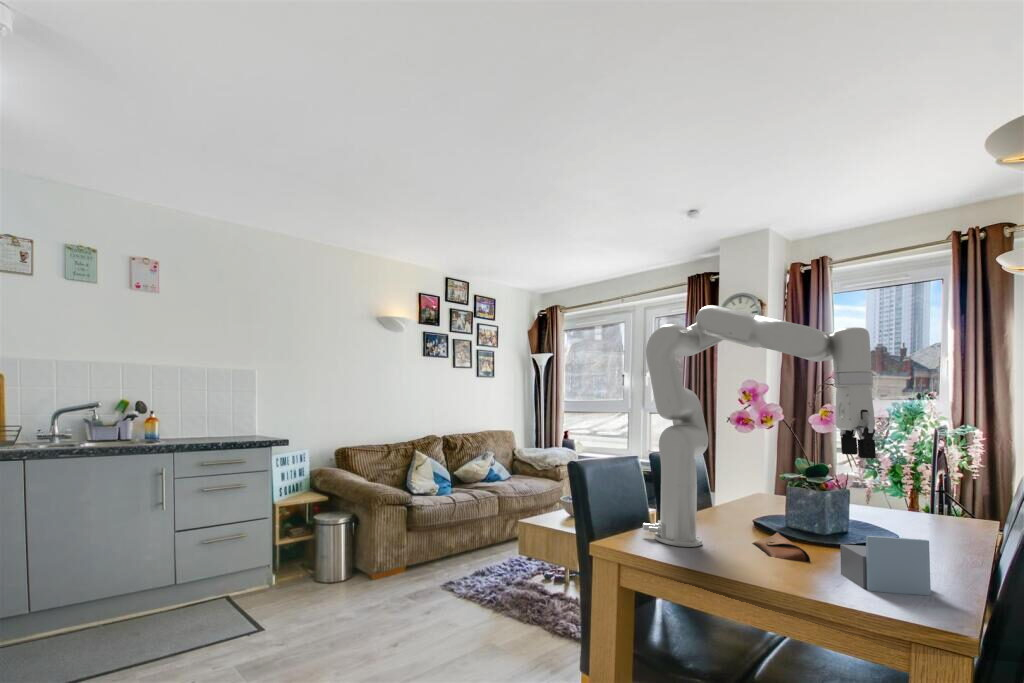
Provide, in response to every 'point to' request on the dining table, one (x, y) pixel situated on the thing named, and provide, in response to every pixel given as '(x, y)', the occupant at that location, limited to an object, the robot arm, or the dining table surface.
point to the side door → (898, 565)
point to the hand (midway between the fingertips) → (858, 456)
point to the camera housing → (854, 564)
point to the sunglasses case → (781, 548)
